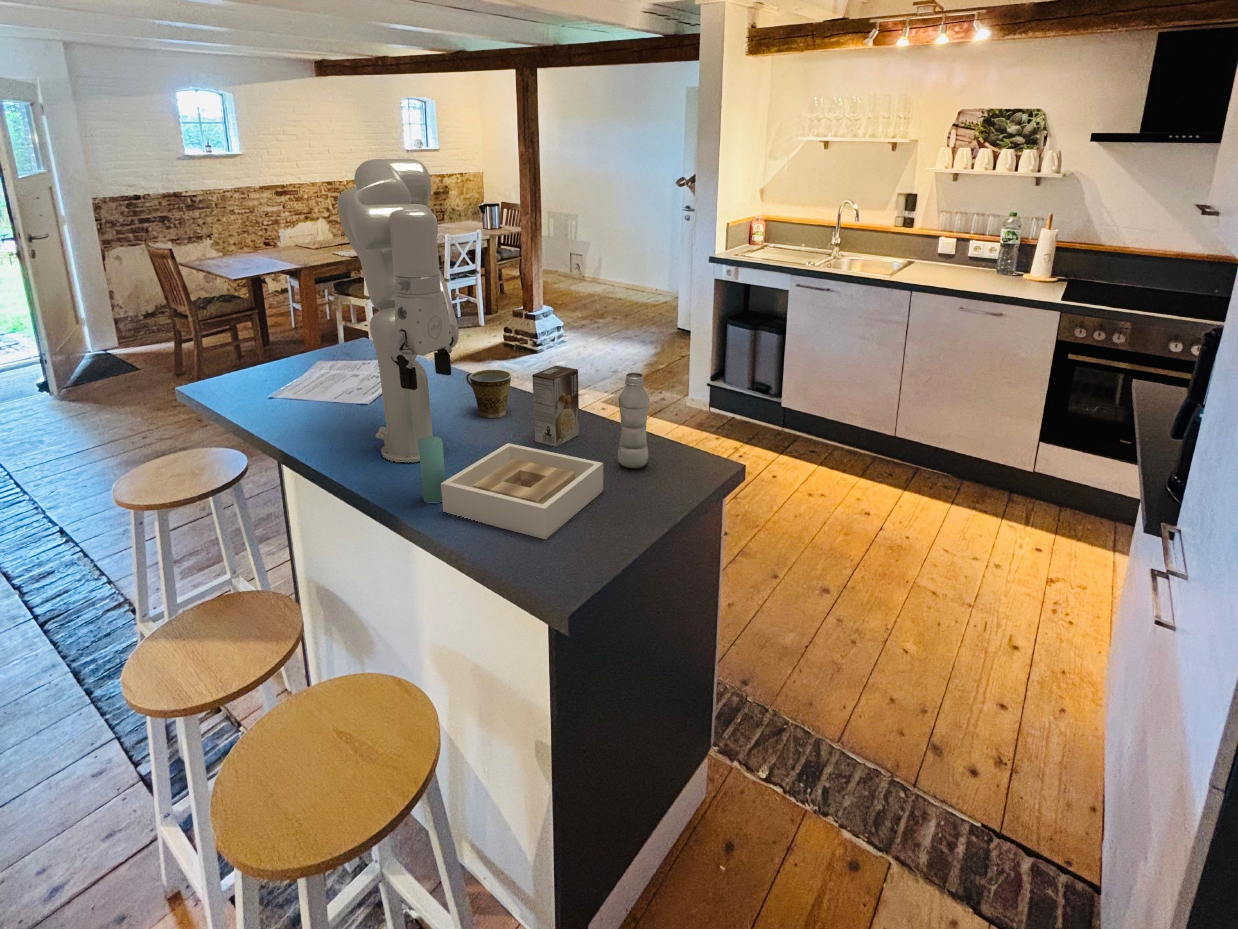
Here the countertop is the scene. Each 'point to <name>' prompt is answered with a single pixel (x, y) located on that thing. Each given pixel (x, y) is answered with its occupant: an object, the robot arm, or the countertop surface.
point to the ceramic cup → (490, 391)
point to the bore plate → (526, 481)
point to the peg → (431, 467)
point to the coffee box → (556, 405)
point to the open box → (517, 511)
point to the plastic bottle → (633, 422)
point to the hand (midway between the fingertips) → (427, 381)
